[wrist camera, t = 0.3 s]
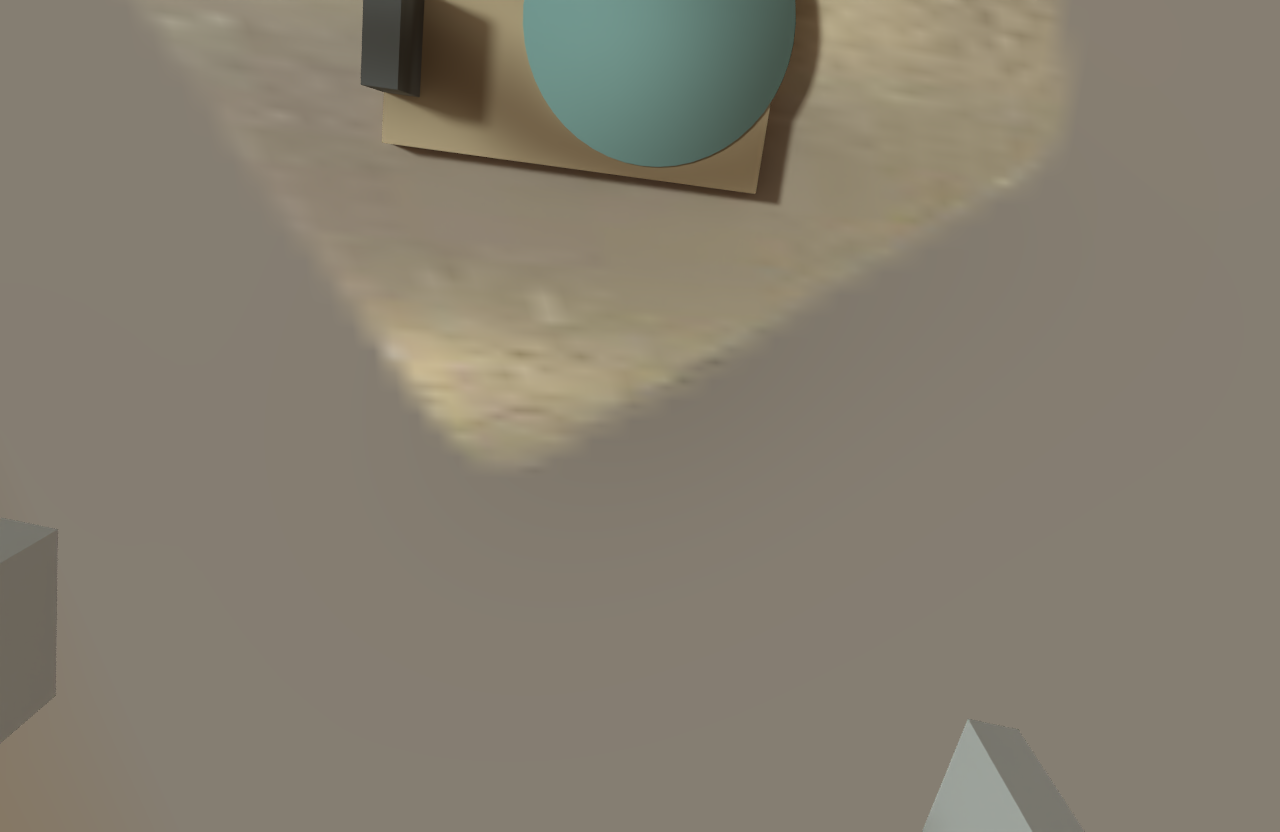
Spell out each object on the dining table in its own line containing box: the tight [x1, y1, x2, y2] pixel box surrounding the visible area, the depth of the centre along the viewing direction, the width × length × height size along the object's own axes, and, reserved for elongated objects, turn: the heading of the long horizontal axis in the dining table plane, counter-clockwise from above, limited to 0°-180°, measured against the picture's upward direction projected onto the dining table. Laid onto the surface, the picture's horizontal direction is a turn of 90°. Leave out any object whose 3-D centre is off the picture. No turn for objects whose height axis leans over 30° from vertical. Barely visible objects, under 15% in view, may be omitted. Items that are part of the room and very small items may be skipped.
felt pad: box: [523, 0, 796, 167], centre depth 33 cm, size 11×11×1 cm
